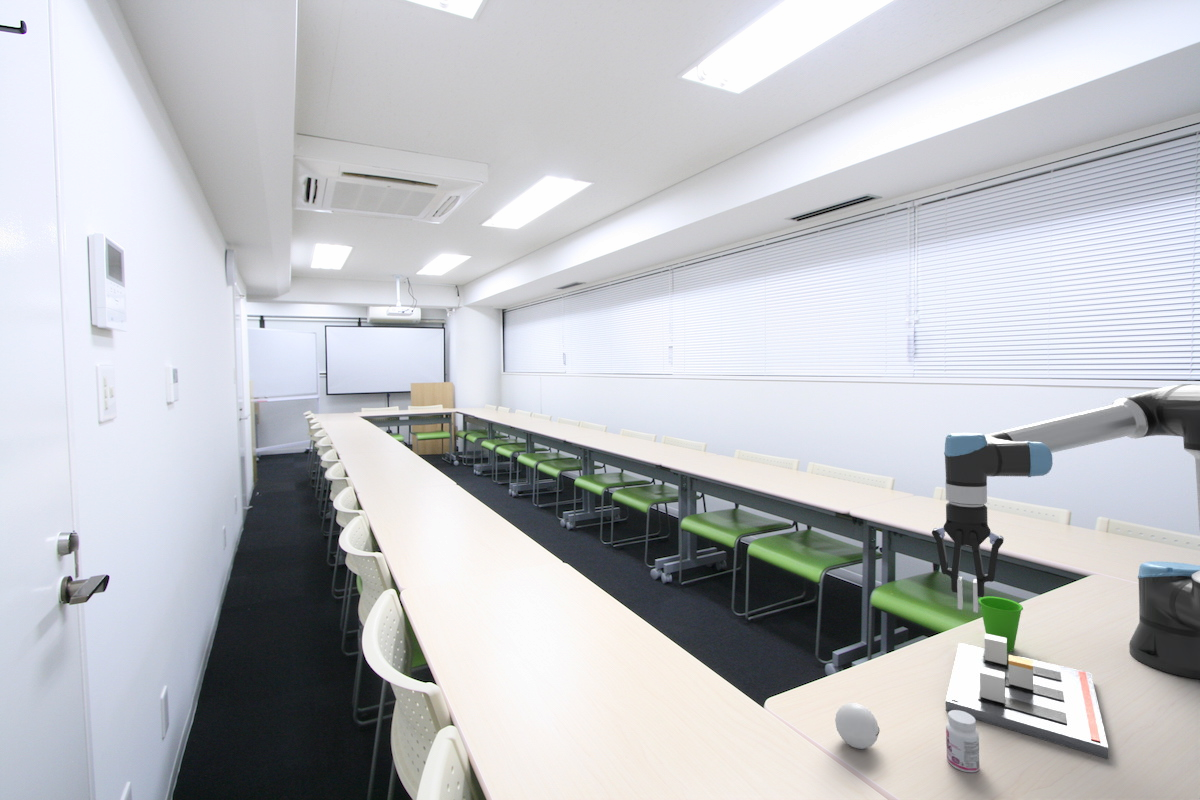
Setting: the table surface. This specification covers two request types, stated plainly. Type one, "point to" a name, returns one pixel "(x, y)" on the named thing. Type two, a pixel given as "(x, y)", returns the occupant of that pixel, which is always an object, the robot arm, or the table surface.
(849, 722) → the white oval ovoid
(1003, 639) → the block
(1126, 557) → the table surface
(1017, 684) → the block
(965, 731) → the pill bottle
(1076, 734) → the panel
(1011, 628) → the cup
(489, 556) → the table surface
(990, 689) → the block
